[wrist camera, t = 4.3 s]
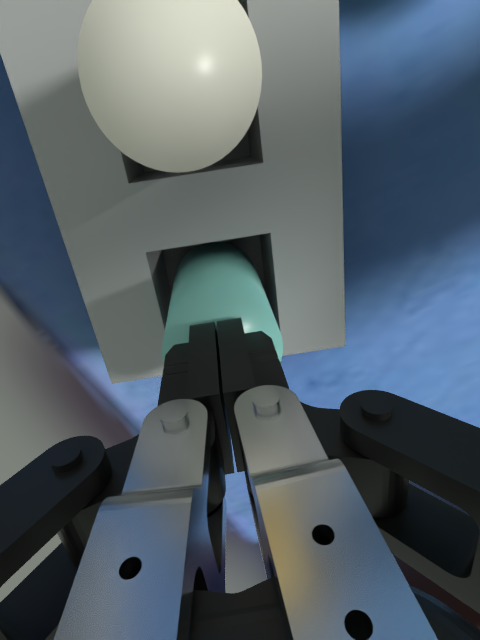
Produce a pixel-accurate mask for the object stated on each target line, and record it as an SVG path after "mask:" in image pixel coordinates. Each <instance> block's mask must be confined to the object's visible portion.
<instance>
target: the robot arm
mask: <svg viewBox="0 0 480 640" xmlns="http://www.w3.org/2000/svg"><path fill="white" fill-rule="evenodd" d="M217 331H218V338H217V332H216V327H215V322H209V323H202V324H196V325H190V327H189V342H188V343H181V344H175V345H173V346H172V348H171V349H170V350H169V351H168V353H167V354H166V355H165V361H164V368H163V374H162V376H163V377H162V381H161V387H160V394H159V400H158V407H156V408H154V409H153V410H152V411H151V412H150V413H149V414H148V415H147V416H146V418H145V419H144V421H143V424H142V427H141V431H140V434H139V435H137V436H135V437H133V438H132V439H130V440H127V441H125V442H122V443H120V444H117V445H115V446H112V447H110V448H107V449H105V448H104V446H103V443H102V442H101V441H100V440H99V439H97V438H95V437H92V436H77V437H73V438H69V439H66V440H64V441H61V442H59V443H57V444H55V445H54V446H52V447H51V448H49V449H48V450H46V451H45V452H44V453H43V454H41V455H40V456H38V457H37V458H36V459H35V460H33V461H32V462H31V463H29V464H28V465H27V466H25V467H24V468H23V469H21V470H20V471H19V472H17V473H16V474H15V475H13V476H12V477H11V478H9V479H8V480H7V481H5V482H4V483H3V484H1V485H0V587H1V586H2V585H3V584H4V583H5V582H6V581H7V580H8V579H9V578H10V577H11V576H12V575H13V574H14V573H16V571H18V570H19V569H20V568H21V567H22V566H23V565H24V564H25V563H26V562H27V561H28V560H29V559H30V558H31V557H32V556H33V555H34V554H35V553H37V552H38V551H39V550H40V549H41V548H42V547H43V546H44V545H45V544H46V543H47V542H48V541H49V540H50V539H51V538H52V537H53V536H55V535H56V534H57V533H58V535H59V537H60V539H61V541H62V543H61V544H60V545H59V546H58V547H57V548H56V549H55V550H54V551H53V552H52V553H51V554H50V555H49V556H47V557H46V558H45V559H44V560H43V561H42V562H41V563H40V565H38V566H37V567H36V568H35V569H34V570H33V571H32V572H31V573H30V574H29V575H28V576H27V577H26V578H25V579H24V580H23V581H22V582H21V583H20V584H19V585H18V586H17V587H16V588H15V589H14V590H13V591H12V592H11V593H10V594H9V595H8V596H7V597H6V598H4V600H2V601H1V602H0V640H480V629H478V628H477V627H476V626H474V625H473V624H472V623H470V622H469V621H467V620H466V619H465V618H464V617H462V616H461V615H460V614H458V613H457V612H456V611H454V610H453V609H451V608H450V607H449V606H447V605H446V604H444V603H442V602H441V601H439V600H437V599H436V598H434V597H432V596H431V595H429V594H427V593H425V592H423V591H421V590H419V589H417V588H415V587H412V586H410V585H408V583H407V581H406V579H405V577H404V575H403V574H402V572H401V570H400V568H399V566H398V564H397V562H396V560H395V559H394V557H393V555H392V554H394V555H395V556H397V557H398V558H400V559H401V560H402V561H404V562H405V563H407V564H408V565H410V566H411V567H413V568H414V569H416V570H417V571H418V572H420V573H421V574H423V575H424V576H426V577H427V578H429V579H430V580H432V581H433V582H434V583H436V584H438V585H439V586H440V587H442V588H443V589H445V590H446V591H448V592H449V593H450V594H452V595H453V596H455V597H456V598H458V599H459V600H461V601H462V602H463V603H465V604H466V605H468V606H469V607H471V608H472V609H474V610H475V611H476V612H478V613H480V428H478V427H476V426H473V425H471V424H468V423H466V422H463V421H461V420H458V419H455V418H453V417H450V416H448V415H445V414H443V413H440V412H438V411H435V410H433V409H430V408H428V407H425V406H422V405H420V404H417V403H415V402H412V401H410V400H407V399H405V398H402V397H400V396H397V395H395V394H392V393H389V392H385V391H378V390H365V391H359V392H356V393H353V394H351V395H349V396H348V397H346V398H345V399H344V400H343V402H342V403H341V406H340V409H325V408H317V407H312V406H309V405H306V404H304V403H302V402H300V401H299V399H298V397H297V396H296V394H295V393H294V392H292V391H291V390H289V387H288V384H287V381H286V378H285V375H284V372H283V369H282V367H281V364H280V361H279V359H278V355H277V352H276V350H275V346H274V344H273V341H272V338H271V337H269V336H268V335H267V334H265V333H264V332H263V331H257V332H251V333H244V328H243V324H242V319H241V317H240V318H234V319H227V320H221V321H217ZM218 342H219V344H218ZM230 434H231V435H230ZM231 439H232V445H233V450H234V456H235V461H236V467H237V472H242V471H245V477H246V483H247V489H248V494H249V500H250V505H251V510H252V514H253V518H254V523H255V527H256V532H257V536H258V541H259V545H260V549H261V553H262V558H263V563H264V567H265V572H266V576H267V580H266V581H263V582H261V583H259V584H257V585H255V586H253V587H251V588H249V589H246V590H244V591H242V592H239V593H235V594H230V593H226V589H225V567H226V566H225V565H226V499H225V492H226V484H225V474H231V473H234V465H233V455H232V445H231ZM409 480H410V481H412V482H414V483H416V484H418V485H420V486H421V487H423V488H425V489H427V490H429V491H431V492H433V493H435V494H436V495H438V496H440V497H442V498H444V499H446V500H447V501H449V502H451V503H453V504H455V505H457V506H458V507H460V508H462V509H463V510H465V511H466V512H467V513H468V514H469V515H470V516H471V517H470V516H468V515H467V514H465V513H463V512H461V511H459V510H457V509H456V508H454V507H452V506H450V505H448V504H446V503H444V502H443V501H441V500H439V499H437V498H435V497H433V496H432V495H429V494H428V493H426V492H424V491H422V490H420V489H419V488H417V487H415V486H413V485H411V484H409Z"/></svg>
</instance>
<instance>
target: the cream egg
mask: <svg viewBox="0 0 480 640" xmlns="http://www.w3.org/2000/svg"><path fill="white" fill-rule="evenodd" d="M77 63H78V73H79V79H80V84H81V89H82V92H83V95H84V98H85V101H86V104H87V106H88V108H89V110H90V112H91V115H92V116H93V118H94V120H95V122H96V123H97V125H98V127H99V128H100V129H101V131H102V132H103V133H104V135H105V136H106V137H107V138H108V139H109V140H110V141H111V142H112V144H113V145H114V146H115V147H117V148H118V149H119V150H120V151H121V152H123V153H124V154H125V155H126V156H128V157H130V158H131V159H133V160H134V161H136V162H138V163H140V164H142V165H144V166H146V167H149V168H152V169H155V170H160V171H165V172H176V173H180V172H190V171H195V170H199V169H202V168H205V167H207V166H210V165H212V164H214V163H215V162H217V161H219V160H221V159H222V158H223V157H225V156H226V155H227V154H229V153H230V152H231V151H232V150H233V149H234V148H235V147H236V146H237V145H238V143H239V142H240V141H241V139H242V138H243V137H244V135H245V134H246V132H247V130H248V129H249V127H250V125H251V123H252V121H253V118H254V116H255V113H256V110H257V107H258V104H259V99H260V93H261V85H262V62H261V56H260V49H259V45H258V42H257V38H256V34H255V32H254V29H253V27H252V24H251V22H250V20H249V18H248V16H247V14H246V12H245V10H244V9H243V7H242V6H241V4H240V3H239V1H238V0H92V1H91V3H90V5H89V7H88V9H87V11H86V14H85V16H84V19H83V22H82V26H81V29H80V34H79V41H78V54H77Z"/></svg>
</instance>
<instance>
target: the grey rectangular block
mask: <svg viewBox="0 0 480 640" xmlns="http://www.w3.org/2000/svg"><path fill="white" fill-rule="evenodd" d="M91 1H92V0H0V54H1V57H2V60H3V63H4V66H5V69H6V72H7V74H8V77H9V80H10V83H11V86H12V89H13V92H14V95H15V98H16V101H17V104H18V107H19V110H20V113H21V116H22V119H23V122H24V125H25V128H26V131H27V134H28V137H29V140H30V143H31V146H32V149H33V152H34V154H35V157H36V160H37V163H38V166H39V169H40V172H41V175H42V178H43V181H44V184H45V187H46V190H47V193H48V196H49V199H50V202H51V205H52V208H53V211H54V214H55V217H56V220H57V223H58V226H59V229H60V232H61V235H62V237H63V240H64V243H65V246H66V249H67V252H68V255H69V258H70V261H71V264H72V267H73V270H74V273H75V276H76V279H77V282H78V285H79V288H80V291H81V294H82V297H83V300H84V303H85V306H86V309H87V312H88V315H89V318H90V320H91V323H92V326H93V329H94V332H95V335H96V338H97V341H98V344H99V347H100V350H101V353H102V356H103V359H104V362H105V365H106V368H107V371H108V374H109V377H110V380H111V383H112V384H114V383H120V382H126V381H132V380H138V379H144V378H151V377H157V376H162V374H163V368H164V363H163V358H162V344H163V338H164V333H165V327H166V322H167V316H168V311H169V305H170V300H171V294H172V289H173V283H174V278H175V273H176V269H177V267H178V265H179V263H180V261H181V259H182V258H183V257H184V256H185V255H186V254H187V253H188V252H189V251H190V250H192V249H193V248H195V247H197V246H199V245H201V244H204V243H209V242H224V243H228V244H231V245H234V246H236V247H238V248H239V249H241V250H242V251H244V252H245V253H246V254H247V255H248V256H249V258H250V259H251V260H252V262H253V264H254V266H255V268H256V271H257V273H258V276H259V279H260V281H261V284H262V286H263V289H264V291H265V294H266V296H267V299H268V302H269V304H270V307H271V309H272V312H273V314H274V317H275V320H276V322H277V325H278V327H279V330H280V333H281V336H282V341H283V354H282V356H286V355H292V354H298V353H305V352H311V351H317V350H323V349H329V348H335V347H342V346H345V295H344V242H343V189H342V136H341V83H340V29H339V0H238V1H239V3H240V4H241V6H242V7H243V9H244V10H245V12H246V14H247V16H248V18H249V20H250V22H251V24H252V27H253V29H254V32H255V34H256V38H257V42H258V45H259V49H260V56H261V62H262V85H261V93H260V99H259V104H258V107H257V110H256V113H255V116H254V118H253V121H252V123H251V125H250V127H249V129H248V130H247V132H246V134H245V135H244V137H243V138H242V139H241V141H240V142H239V143H238V145H237V146H236V147H235V148H234V149H233V150H232V151H231V152H230V153H229V154H227V155H226V156H225V157H223V158H222V159H221V160H219V161H217V162H215V163H214V164H212V165H210V166H207V167H205V168H202V169H199V170H195V171H190V172H180V173H176V172H165V171H160V170H155V169H152V168H149V167H146V166H144V165H142V164H140V163H138V162H136V161H134V160H133V159H131V158H130V157H128V156H126V155H125V154H124V153H123V152H121V151H120V150H119V149H118V148H117V147H115V146H114V145H113V144H112V142H111V141H110V140H109V139H108V138H107V137H106V136H105V135H104V133H103V132H102V131H101V129H100V128H99V127H98V125H97V123H96V122H95V120H94V118H93V116H92V115H91V112H90V110H89V108H88V106H87V104H86V101H85V98H84V95H83V92H82V89H81V84H80V79H79V73H78V63H77V54H78V41H79V34H80V29H81V26H82V22H83V19H84V16H85V14H86V11H87V9H88V7H89V5H90V3H91Z"/></svg>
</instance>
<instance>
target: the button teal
mask: <svg viewBox="0 0 480 640" xmlns="http://www.w3.org/2000/svg"><path fill="white" fill-rule="evenodd" d="M240 317H241V319H242V324H243V328H244V333H251V332H257V331H263V332H264V333H265V334H267V335H268V336H269V337H271V338H272V341H273V344H274V346H275V350H276V352H277V355H278V359H279V361H280V363H281V359H282V354H283V341H282V336H281V333H280V330H279V327H278V325H277V322H276V320H275V317H274V314H273V312H272V309H271V307H270V304H269V302H268V299H267V296H266V294H265V291H264V289H263V286H262V284H261V281H260V279H259V276H258V273H257V271H256V268H255V266H254V264H253V262H252V260H251V259H250V258H249V256H248V255H247V254H246V253H245V252H244V251H242V250H241V249H239V248H238V247H236V246H234V245H231V244H228V243H224V242H209V243H204V244H201V245H199V246H197V247H195V248H193V249H192V250H190V251H189V252H188V253H187V254H186V255H185V256H184V257H183V258H182V259H181V261H180V263H179V265H178V267H177V269H176V273H175V278H174V283H173V289H172V294H171V300H170V305H169V311H168V316H167V322H166V327H165V333H164V338H163V344H162V358H163V363H164V361H165V355H166V354H167V353H168V351H169V350H170V349H171V348H172V346H173V345H175V344H181V343H188V342H189V327H190V325H196V324H202V323H209V322H215V327H216V332H217V338H218V331H217V321H221V320H227V319H234V318H240ZM218 344H219V342H218Z"/></svg>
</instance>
